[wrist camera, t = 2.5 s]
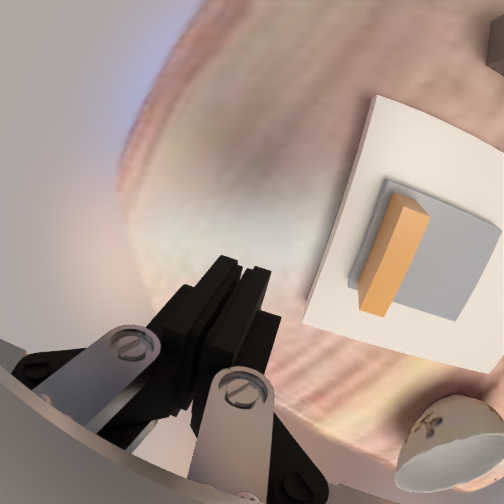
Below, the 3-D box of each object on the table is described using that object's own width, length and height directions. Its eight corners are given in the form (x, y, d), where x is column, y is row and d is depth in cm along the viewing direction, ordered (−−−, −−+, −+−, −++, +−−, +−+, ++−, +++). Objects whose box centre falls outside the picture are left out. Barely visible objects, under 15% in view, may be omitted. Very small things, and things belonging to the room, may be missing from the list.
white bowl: (370, 418, 29) (368, 481, 22) (463, 352, 23) (485, 418, 16) (439, 454, 29) (443, 503, 22) (516, 403, 23) (532, 454, 16)
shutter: (386, 178, 16) (398, 193, 13) (497, 226, 15) (524, 249, 12) (347, 281, 20) (347, 314, 16) (452, 315, 18) (466, 349, 15)
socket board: (371, 98, 18) (377, 94, 15) (560, 196, 15) (580, 207, 12) (306, 301, 25) (301, 323, 22) (480, 352, 22) (488, 374, 20)
